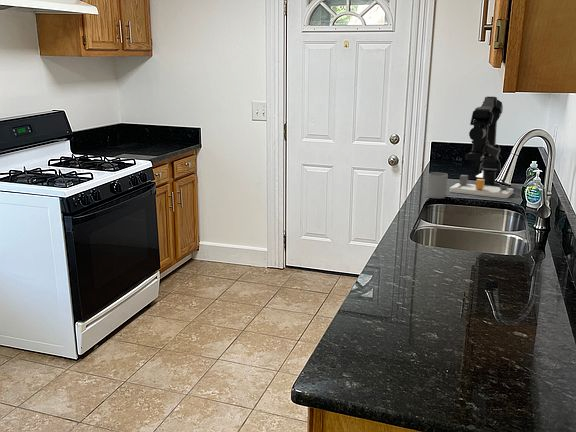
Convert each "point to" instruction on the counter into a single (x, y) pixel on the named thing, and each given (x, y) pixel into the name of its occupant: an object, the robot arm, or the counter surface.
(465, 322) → the counter surface
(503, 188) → the switch
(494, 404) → the counter surface
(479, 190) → the breaker panel
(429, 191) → the cup
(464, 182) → the switch
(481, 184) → the orange matte cube
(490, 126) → the robot arm
